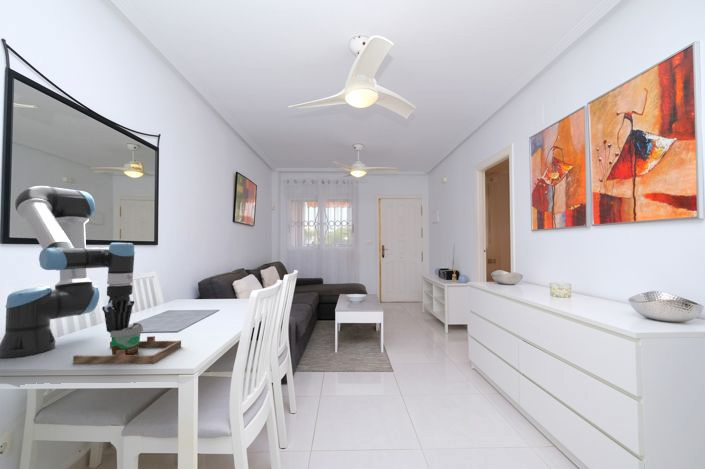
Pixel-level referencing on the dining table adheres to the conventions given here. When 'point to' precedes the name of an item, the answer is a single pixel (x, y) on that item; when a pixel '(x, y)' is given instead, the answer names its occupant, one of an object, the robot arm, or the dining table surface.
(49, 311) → the robot arm
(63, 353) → the dining table surface
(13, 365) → the dining table surface
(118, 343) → the food container
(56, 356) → the dining table surface
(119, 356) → the slot rails
